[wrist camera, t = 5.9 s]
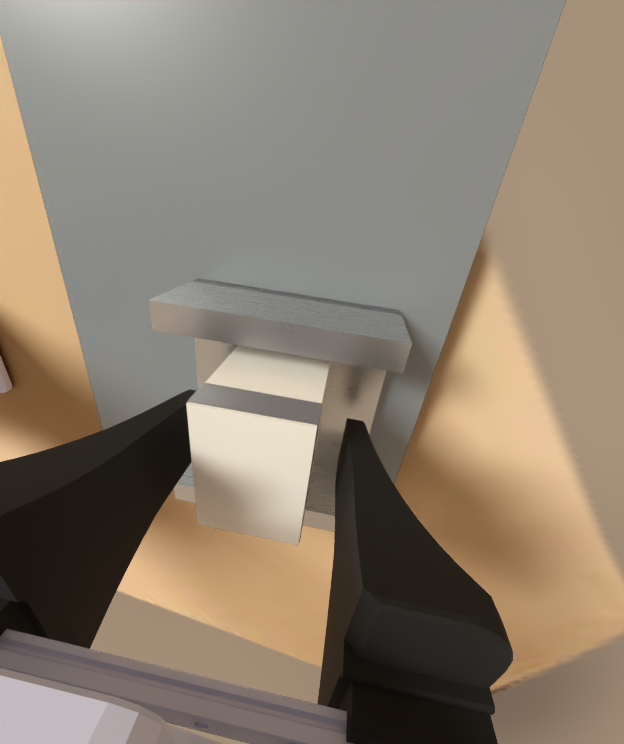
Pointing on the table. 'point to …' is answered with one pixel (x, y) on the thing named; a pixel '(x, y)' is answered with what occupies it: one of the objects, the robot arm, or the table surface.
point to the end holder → (298, 337)
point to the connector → (256, 442)
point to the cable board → (269, 163)
